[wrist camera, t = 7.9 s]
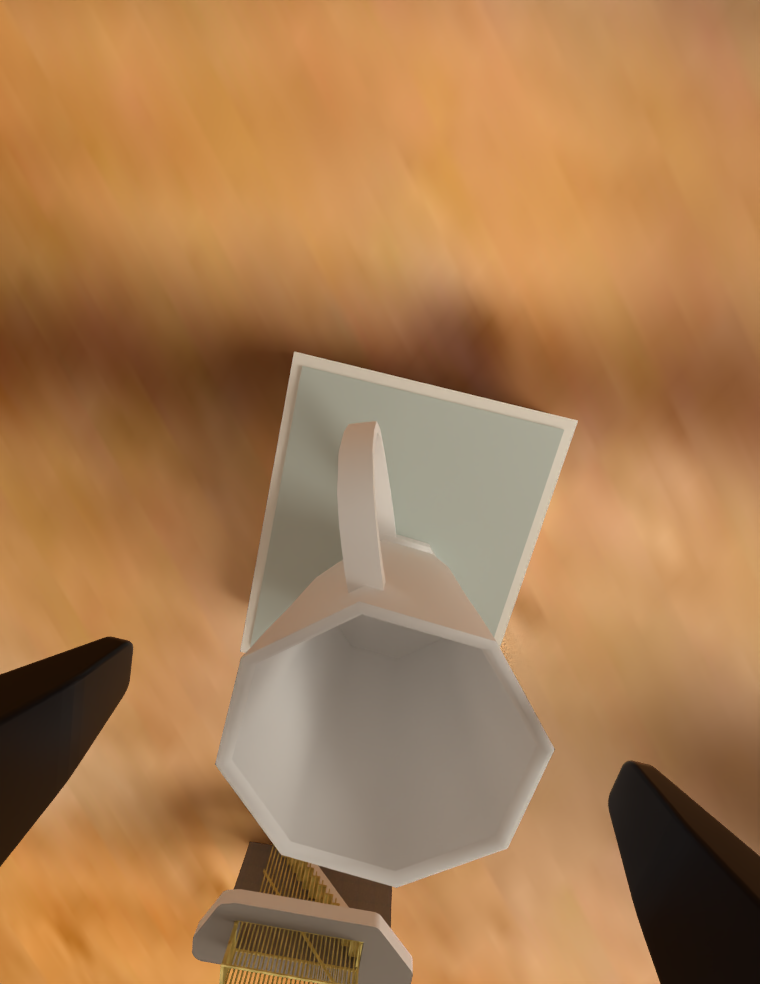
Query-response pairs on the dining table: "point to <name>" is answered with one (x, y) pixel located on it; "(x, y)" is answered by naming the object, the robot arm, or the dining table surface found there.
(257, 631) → the slab
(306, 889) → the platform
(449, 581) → the cup
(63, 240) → the dining table surface
